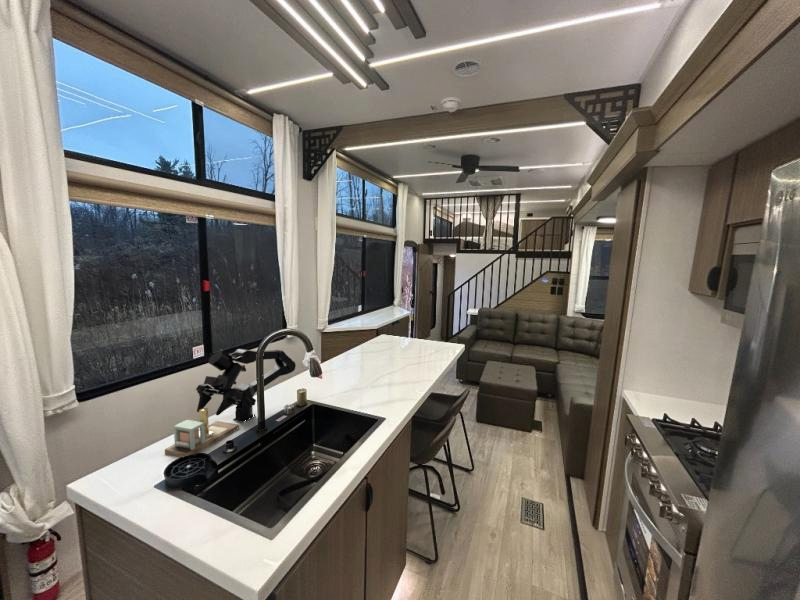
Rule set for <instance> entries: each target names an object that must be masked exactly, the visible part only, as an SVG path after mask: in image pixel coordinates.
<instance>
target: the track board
mask: <svg viewBox="0 0 800 600" xmlns="http://www.w3.org/2000/svg"><path fill="white" fill-rule="evenodd" d="M237 428H238V429H240V424H239V423H238V424H237V423H232V422H225V421H220V420H216V421H214V422H213V423H210V424H209V431H212V432H214V434H213V435H211V436H210V437H208V438H206V439H205V443H203V444H201V443H200V442H199V443H198V444H196V445H195V449H193V450H191V449H190V448H184V447H179V446H177V447H176V446H175V443H174V444H172V445H170V446H168V447H167V448H165V449H164V454H166V455H169V456H171V455H172V456H175V457H180V458H184V457H183V456H188V455H191V454H196V453H198V454H199V453H201V452H202V451H204V450H206V449H207V448H209V447H211V446H212V445H214V444H216V443H217V442H219V441H220V440H223V439H224V438H225V437H227V436H229V435H230V434H232V433H234V432H235V431H237V430H238V429H237ZM236 429H237V430H236ZM234 430H235V431H234ZM231 432H232V433H231ZM228 434H229V435H228ZM196 455H197V454H196Z"/></svg>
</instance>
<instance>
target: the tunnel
mask: <svg viewBox="0 0 800 600" xmlns="http://www.w3.org/2000/svg"><path fill="white" fill-rule="evenodd" d="M198 428H199V431H200V443H201V444H203V443H205V432H204V423H203V422H200V421H198V420H197V421H196V420H193V419H192V420H191V419H186V420H183V421H181V422H179V423H177V424H175V425H174V426H173V433H174V434H173V435H174V444H175V446H176V441H177V440H179V439H180V432H181V431H183V430H184V431H189V435H190V449H191V450H193V449H195V437H194V430H196V429H198ZM176 447H177V446H176Z"/></svg>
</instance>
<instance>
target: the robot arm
mask: <svg viewBox="0 0 800 600" xmlns="http://www.w3.org/2000/svg"><path fill="white" fill-rule="evenodd" d="M257 351H258V350H252V349H251V350H250V349H245V348H244V349H243V348H238V349H236V350H235V351H234V352H232V353H227V351H225V350H223V349H219V350H218V351H217V352H215V353H213V354H212V355H211V356H210V357H209V359H208V364H209V365H211V366H212V367H214V368H216V369H217V370H218V371H220V372H222V371H223V372H222V373H221V374H218V375H217V376H210V375H209V376H208V375H206V376H205V378H204V382H203V383H201V384H199V385H197V387H196V388H195V391H197V393H198V395H199V399H198V404H197V408H196V412H197V413H199V410H200V409H203V408H206V406H207V404H208V403H209V402H210V401H211V400H212V399H213V398H212V396H214V395H219V396H222V401H221V402H220V405H219V407H218V408H217V411H216V412H215V416H219V415H221V414H222V413H224V411H226V410H227V409H228V408H229V407H231V406H234V405H235V412H234V413H235V418H232V421H234V420H237V421H236V422H240V421H245V420H246V421H247V420H248V419H249V418H251V419H253V418H254V417H253V414H254V413H253V412H254V411H253V406H255V405H256V401H257V399H255V398H254V396H255V394H256V393H257V392H258V391H257V381H256V379H255V380H253V381H252V382H249V384H246V383H243V382H241V383H240V384H238V385H237V386H235V387H233V385H236V384H237V381H236V380H237V379H238V376H239V375H240V374H241V372H247V368H246V365H248V364H252V363H255V362H257V361H256V354H257ZM263 351H264V356H263V360H274V362H275V365H274V367H273V368H272V369H271V370H269V371H267V372H266V373H264V374H263V375H264V387H263V388H265V387H266V386H267V385H269V384H270V383H272V382H273V381H275V380H276V379H278V378H279V377H282V376H285V375H289V374H291V373H293V372H294V371H295V370H296V366H297V365H296V362H295V361H294V360H293V359H292V358H291V357H290V356H288V355H287V354H286V352H285V351H284V350H280V349H274V350H273V349H272V350H263ZM245 364H246V365H245ZM232 387H233V388H232ZM197 393H196V394H197ZM255 415H256V414H254V416H255ZM252 417H253V418H252ZM255 417H256V416H255ZM248 421H249V420H248ZM248 421H247V422H248Z"/></svg>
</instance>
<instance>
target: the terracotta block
mask: <svg viewBox="0 0 800 600" xmlns="http://www.w3.org/2000/svg"><path fill="white" fill-rule="evenodd" d="M199 431H200V428H198V429H196V430H194V437H195V439H196V438H198V437H199ZM180 441H184V442H190V435H189V431H184V430H183V431H181V432H180Z"/></svg>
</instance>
